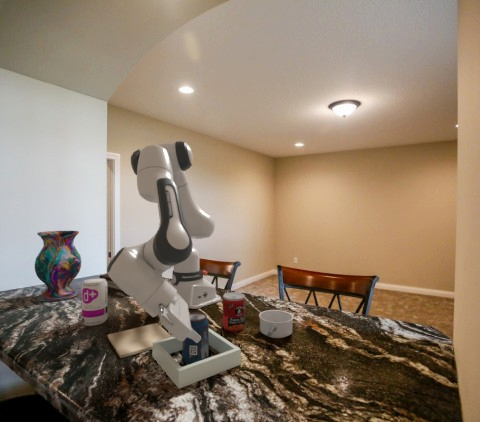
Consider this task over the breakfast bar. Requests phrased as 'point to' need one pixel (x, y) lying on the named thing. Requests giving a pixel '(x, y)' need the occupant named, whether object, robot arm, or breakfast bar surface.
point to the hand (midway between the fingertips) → (197, 332)
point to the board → (137, 339)
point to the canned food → (233, 311)
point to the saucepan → (276, 323)
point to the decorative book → (111, 284)
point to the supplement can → (94, 301)
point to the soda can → (201, 349)
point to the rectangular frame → (198, 369)
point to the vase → (58, 265)
